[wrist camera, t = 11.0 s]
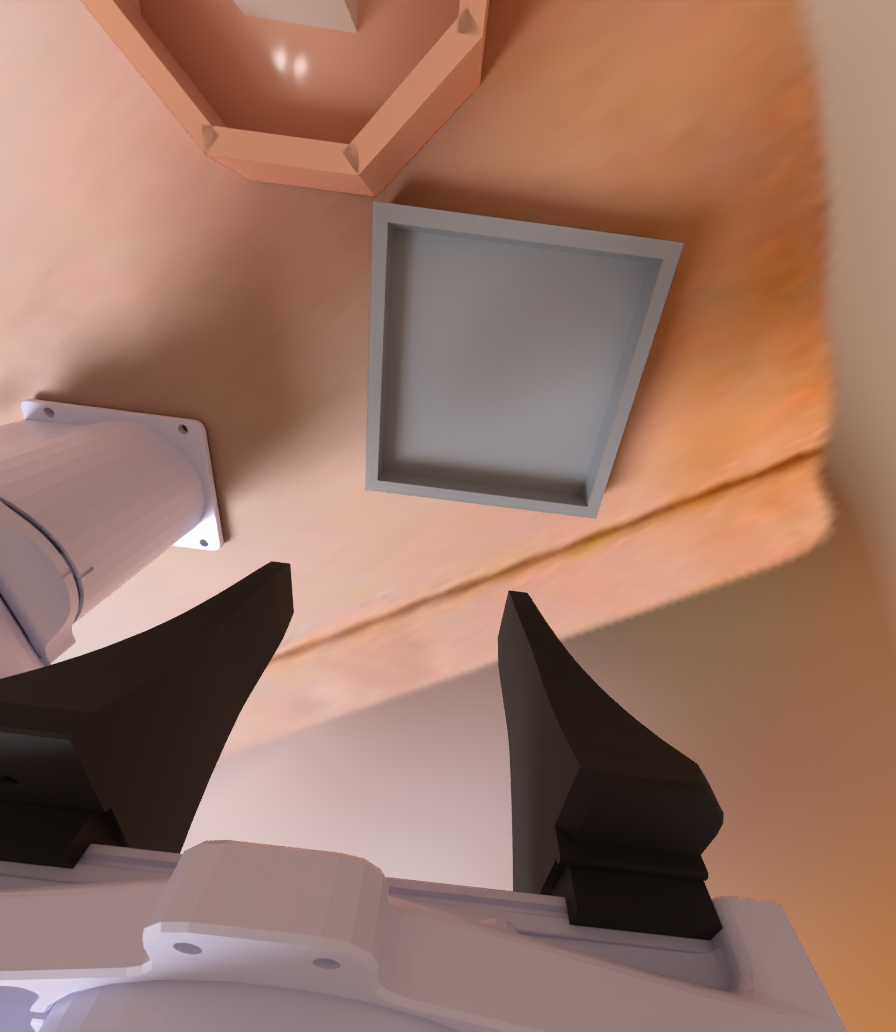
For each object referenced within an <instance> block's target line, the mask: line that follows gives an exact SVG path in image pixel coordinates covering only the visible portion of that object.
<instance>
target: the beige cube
mask: <svg viewBox="0 0 896 1032" xmlns="http://www.w3.org/2000/svg"><path fill="white" fill-rule="evenodd" d="M233 1H234V2H235V4H236V5H237V6H238V8H239V9H240V10H241V12H242V13H243V14H244V15H245V16H251V17H258V18H264V19H270V20H277V21H283V22H289V23H296V24H302V25H309V26H315V27H321V28H328V29H334V30H340V31H347V32H353V33H357V24H358V0H233Z"/></svg>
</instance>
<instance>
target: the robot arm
mask: <svg viewBox="0 0 896 1032" xmlns="http://www.w3.org/2000/svg"><path fill="white" fill-rule="evenodd" d="M20 406H21V410H22V413H23V416H24V418H25V420H23V421H19V422H15V423H11V424H7V425H3V426H0V1032H848V1031H847V1029H846V1027H845V1025H844V1023H843V1021H842V1020H841V1018H840V1016H839V1014H838V1012H837V1010H836V1008H835V1006H834V1004H833V1002H832V1000H831V998H830V997H829V995H828V993H827V991H826V989H825V987H824V985H823V983H822V981H821V980H820V978H819V976H818V974H817V972H816V970H815V968H814V966H813V964H812V962H811V961H810V959H809V957H808V955H807V953H806V951H805V949H804V947H803V945H802V943H801V942H800V940H799V938H798V936H797V934H796V932H795V930H794V928H793V927H792V924H791V923H790V921H789V919H788V917H787V915H786V913H785V911H784V909H783V907H782V906H781V904H779V903H777V902H776V901H771V900H762V899H753V898H745V897H736V896H721V897H716V898H714V899H712V900H711V898H710V896H709V893H708V891H707V888H706V886H705V883H704V881H703V880H705V881H706V880H707V879H708V871H707V869H706V867H705V864H704V862H703V860H702V857H701V854H702V853H703V852H704V850H705V849H706V848H707V847H708V845H709V844H710V843H711V842H712V840H713V839H714V838H715V836H716V835H717V834H718V832H719V830H720V828H721V826H722V824H723V811H722V809H721V808H720V805H719V804H718V801H717V799H716V797H715V795H714V793H713V791H712V789H711V787H710V785H709V783H708V781H707V779H706V778H705V776H704V774H703V772H702V771H701V769H700V768H699V766H698V764H697V763H695V762H694V761H692V760H691V759H689V758H688V757H686V756H685V755H684V754H682V753H681V752H679V751H678V750H676V749H675V748H673V747H672V746H670V745H669V744H668V743H666V742H665V741H663V740H662V739H661V738H659V737H658V736H657V735H655V734H654V733H653V732H651V731H650V730H649V729H648V728H646V727H645V726H644V725H642V724H641V723H640V722H639V721H637V720H636V719H635V718H634V717H633V716H631V715H630V714H629V713H628V712H627V711H625V710H624V709H623V708H622V707H621V706H620V705H619V704H618V703H617V702H615V701H614V700H613V699H612V698H611V697H610V696H609V695H608V694H607V693H606V692H604V690H602V689H601V688H600V687H599V686H598V685H597V684H596V682H595V681H594V680H593V679H592V678H591V677H590V676H589V675H588V674H587V673H586V672H585V671H584V670H583V669H582V668H581V666H580V665H579V664H578V663H577V662H576V661H575V660H574V658H573V657H572V656H571V655H570V653H569V652H568V651H567V650H566V648H565V647H564V646H563V644H562V643H561V642H560V640H559V639H558V638H557V636H556V635H555V633H554V632H553V631H552V629H551V628H550V626H549V625H548V624H547V622H546V621H545V619H544V618H543V616H542V615H541V613H540V612H539V610H538V608H537V607H536V605H535V604H534V602H533V601H532V599H531V597H530V596H529V595H528V593H525V592H517V591H509V592H508V596H507V600H506V605H505V609H504V613H503V618H502V622H501V626H500V631H499V635H498V665H499V673H500V680H501V688H502V694H503V702H504V708H505V715H506V722H507V729H508V738H509V750H510V771H511V796H512V797H511V799H512V835H513V836H512V837H513V891H505V890H496V889H487V888H478V887H469V886H460V885H452V884H443V883H434V882H425V881H416V880H407V879H398V878H390V877H385V876H384V874H383V872H382V871H381V869H380V868H378V867H376V866H375V865H373V864H372V863H370V862H369V861H367V860H365V859H363V858H359V857H355V856H351V855H347V854H343V853H336V852H328V851H318V850H310V849H302V848H292V847H284V846H275V845H266V844H257V843H248V842H240V841H231V840H219V841H217V840H215V841H205V842H202V843H201V844H198V845H196V846H194V847H192V848H190V849H188V850H187V851H184V853H183V854H180V852H181V849H182V847H183V844H184V842H185V839H186V836H187V834H188V831H189V829H190V826H191V823H192V821H193V818H194V816H195V813H196V811H197V808H198V806H199V804H200V801H201V799H202V796H203V794H204V792H205V789H206V787H207V784H208V782H209V779H210V777H211V775H212V772H213V770H214V768H215V766H216V763H217V761H218V759H219V757H220V754H221V752H222V750H223V748H224V745H225V743H226V741H227V739H228V737H229V735H230V732H231V730H232V728H233V726H234V724H235V722H236V720H237V718H238V715H239V713H240V712H241V710H242V708H243V706H244V704H245V702H246V700H247V699H248V697H249V695H250V694H251V692H252V690H253V689H254V687H255V685H256V684H257V682H258V680H259V679H260V677H261V675H262V674H263V672H264V670H265V669H266V667H267V665H268V663H269V662H270V660H271V658H272V657H273V655H274V653H275V652H276V650H277V648H278V646H279V645H280V643H281V641H282V639H283V637H284V635H285V632H286V630H287V628H288V625H289V623H290V621H291V618H292V616H293V613H294V609H293V596H292V582H291V569H290V564H288V563H280V562H272V561H271V562H270V563H268V564H266V565H264V566H263V567H261V568H260V569H258V570H256V571H255V572H253V573H252V574H250V575H248V576H247V577H245V578H244V579H242V580H240V581H239V582H237V583H235V584H234V585H232V586H231V587H229V588H227V589H226V590H224V591H222V592H221V593H219V594H217V595H216V596H214V597H212V598H210V599H208V600H207V601H205V602H203V603H201V604H199V605H198V606H196V607H194V608H192V609H190V610H189V611H187V612H185V613H183V614H181V615H179V616H177V617H175V618H173V619H171V620H169V621H167V622H165V623H162V624H160V625H158V626H156V627H154V628H152V629H149V630H147V631H145V632H142V633H140V634H137V635H135V636H132V637H130V638H127V639H125V640H122V641H120V642H117V643H115V644H112V645H109V646H107V647H104V648H101V649H99V650H96V651H93V652H90V653H87V654H84V655H81V656H78V657H75V658H72V659H69V660H66V661H62V662H59V663H56V664H53V665H51V663H52V662H53V661H54V660H55V659H57V658H58V657H59V656H60V655H61V654H62V653H64V652H65V651H66V650H67V649H68V648H70V647H71V646H72V645H73V644H74V643H75V638H74V636H73V634H72V624H73V623H75V622H76V621H77V620H79V619H80V618H81V617H82V616H84V615H85V614H86V613H87V612H89V611H90V610H91V609H92V608H94V607H95V606H96V605H97V604H99V603H100V602H101V601H103V600H104V599H105V598H106V597H108V596H109V595H110V594H111V593H113V592H114V591H115V590H116V589H118V588H119V587H120V586H122V585H123V584H124V583H125V582H127V581H128V580H129V579H130V578H132V577H133V576H134V575H135V574H137V573H138V572H139V571H140V570H142V569H143V568H144V567H146V566H147V565H148V564H149V563H151V562H152V561H153V560H154V559H156V558H157V557H158V556H159V555H161V554H162V553H163V552H165V551H166V550H167V549H168V548H170V547H171V546H180V547H188V548H196V549H204V550H213V551H217V550H219V549H220V548H221V547H222V546H223V544H224V541H223V535H222V529H221V523H220V516H219V510H218V504H217V498H216V491H215V485H214V479H213V473H212V466H211V460H210V454H209V448H208V441H207V435H206V430H205V427H204V425H203V424H202V423H201V422H199V421H198V420H194V419H186V418H178V417H170V416H162V415H154V414H146V413H139V412H131V411H123V410H115V409H107V408H99V407H91V406H83V405H75V404H68V403H60V402H52V401H44V400H36V399H29V400H24V401H22V402H21V405H20ZM51 410H53V412H54V414H53V413H52V411H51ZM183 425H185V426H186V427H187V429H188V432H186V431H185V430H184V429H183ZM203 539H204V540H206V541H207V542H208V543H206V542H205V541H204V540H203Z"/></svg>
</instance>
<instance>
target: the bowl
mask: <svg viewBox="0 0 896 1032" xmlns="http://www.w3.org/2000/svg"><path fill="white" fill-rule="evenodd" d="M80 1H81V2H82V3H83V4H84V6H85V7H86V8H87V9H88V11H89V12H90V13H91V14H92V16H93V17H94V18H95V19H96V20H97V22H98V23H99V24H100V25H101V27H102V28H103V29H104V30H105V32H106V33H107V34H108V35H109V36H110V38H111V39H112V40H113V41H114V43H115V44H116V45H117V46H118V48H119V49H120V50H121V51H122V53H123V54H124V55H125V56H126V57H127V59H128V60H129V61H130V62H131V64H132V65H133V66H134V67H135V69H136V70H137V71H138V72H139V73H140V75H141V76H142V77H143V78H144V80H145V81H146V82H147V83H148V85H149V86H150V87H151V88H152V89H153V91H154V92H155V93H156V94H157V96H158V97H159V98H160V99H161V101H162V102H163V103H164V104H165V105H166V107H167V108H168V109H169V110H170V112H171V113H172V114H173V115H174V117H175V118H176V119H177V120H178V121H179V123H180V124H181V125H182V126H183V128H184V129H185V130H186V131H187V133H188V134H189V135H190V136H191V138H192V139H193V140H194V141H195V142H196V144H197V145H198V146H199V147H200V149H201V150H202V151H203V152H204V154H205V155H207V156H208V157H210V158H212V159H213V160H215V161H217V162H218V163H220V164H222V165H224V166H225V167H227V168H229V169H230V170H232V171H234V172H235V173H237V174H239V175H240V176H242V177H244V178H245V179H247V180H255V181H262V182H270V183H277V184H284V185H292V186H299V187H307V188H314V189H322V190H329V191H336V192H344V193H351V194H359V195H366V196H374V197H376V196H377V195H378V194H379V193H380V192H381V191H382V190H383V189H384V188H385V186H386V185H387V184H388V183H389V182H390V181H391V180H392V179H393V178H394V177H395V176H396V175H397V174H398V172H399V171H400V170H401V169H402V168H403V167H404V166H405V165H406V164H407V163H408V162H409V161H410V160H411V158H412V157H413V156H414V155H415V154H416V153H417V152H418V151H419V150H420V149H421V148H422V147H423V146H424V144H425V143H426V142H427V141H428V140H429V139H430V138H431V137H432V136H433V135H434V134H435V133H436V132H437V130H438V129H439V128H440V127H441V126H442V125H443V124H444V123H445V122H446V121H447V120H448V119H449V118H450V116H451V115H452V114H453V113H454V112H455V111H456V110H457V109H458V108H459V107H460V106H461V105H462V104H463V102H464V101H465V100H466V99H467V98H468V97H469V96H470V95H471V94H472V93H473V92H474V91H475V90H476V88H477V87H478V86H479V85H480V81H481V72H482V63H483V54H484V46H485V37H486V28H487V19H488V10H489V1H490V0H358V24H357V33H353V32H347V31H340V30H334V29H328V28H321V27H315V26H309V25H302V24H296V23H289V22H283V21H277V20H270V19H264V18H258V17H251V16H245V15H244V14H243V13H242V12H241V10H240V9H239V8H238V6H237V5H236V4H235V2H234V1H233V0H80Z"/></svg>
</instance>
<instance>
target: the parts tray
mask: <svg viewBox="0 0 896 1032" xmlns="http://www.w3.org/2000/svg"><path fill="white" fill-rule="evenodd" d="M683 246H684V243H682V242H674V241H667V240H660V239H652V238H645V237H637V236H630V235H622V234H615V233H607V232H600V231H593V230H585V229H578V228H570V227H563V226H555V225H548V224H540V223H533V222H526V221H518V220H511V219H503V218H496V217H488V216H481V215H473V214H466V213H459V212H451V211H444V210H436V209H429V208H421V207H414V206H406V205H399V204H392V203H384V202H377V201H373V212H372V251H371V291H370V330H369V370H368V409H367V449H366V488H365V490H371V491H379V492H387V493H395V494H403V495H411V496H419V497H427V498H435V499H443V500H451V501H459V502H467V503H475V504H483V505H491V506H499V507H507V508H515V509H523V510H531V511H539V512H547V513H555V514H563V515H571V516H579V517H587V518H595V519H596V517H597V514H598V510H599V507H600V504H601V501H602V498H603V495H604V492H605V489H606V486H607V482H608V479H609V476H610V473H611V470H612V467H613V464H614V461H615V458H616V454H617V451H618V448H619V445H620V442H621V439H622V436H623V433H624V429H625V426H626V423H627V420H628V417H629V414H630V411H631V408H632V405H633V401H634V398H635V395H636V392H637V389H638V386H639V383H640V380H641V376H642V373H643V370H644V367H645V364H646V361H647V358H648V355H649V352H650V348H651V345H652V342H653V339H654V336H655V333H656V330H657V327H658V323H659V320H660V317H661V314H662V311H663V308H664V305H665V302H666V299H667V295H668V292H669V289H670V286H671V283H672V280H673V277H674V274H675V270H676V267H677V264H678V261H679V258H680V255H681V252H682V249H683Z"/></svg>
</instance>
